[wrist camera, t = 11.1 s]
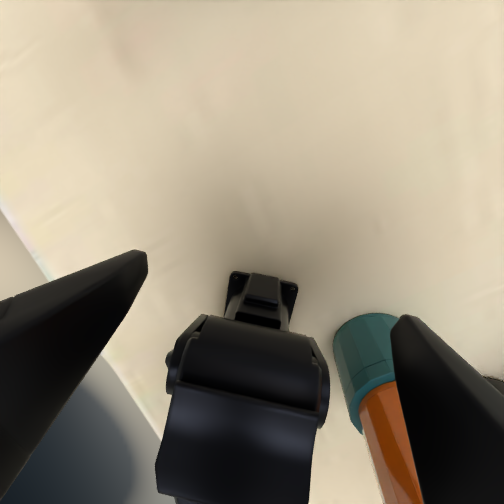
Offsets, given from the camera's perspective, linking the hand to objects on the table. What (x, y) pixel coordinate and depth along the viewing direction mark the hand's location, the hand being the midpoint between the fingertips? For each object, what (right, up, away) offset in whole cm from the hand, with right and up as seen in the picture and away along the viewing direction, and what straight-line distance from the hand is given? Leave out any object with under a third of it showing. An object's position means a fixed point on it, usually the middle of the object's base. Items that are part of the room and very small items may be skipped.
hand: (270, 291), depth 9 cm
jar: (+11, -8, +16) cm, 21 cm away
